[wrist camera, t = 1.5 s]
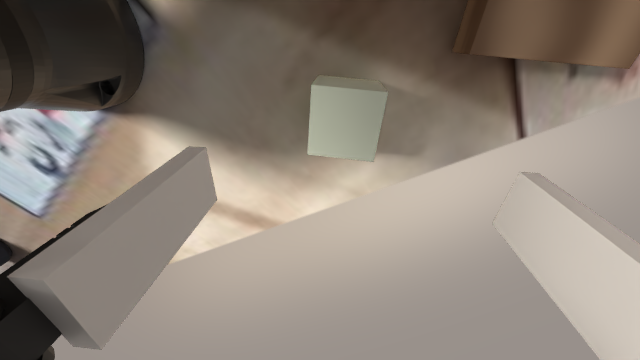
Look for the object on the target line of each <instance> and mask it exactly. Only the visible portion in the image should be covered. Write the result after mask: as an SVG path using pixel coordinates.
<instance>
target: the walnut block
mask: <svg viewBox="0 0 640 360" xmlns="http://www.w3.org/2000/svg"><path fill="white" fill-rule="evenodd" d="M452 52H456V53H463V54H472V55H483V56H494V57H505V58H516V59H527V60H538V61H549V62H559V63H570V64H581V65H592V66H603V67H614V68H625V69H629V68H630V66H631V65H632V63H633V62H634V60H635V59H636V57H637V56H638V54H639V53H640V0H468V3H467V6H466V9H465V12H464V15H463V18H462V22H461V25H460V28H459V31H458V34H457V37H456V41H455V44H454V47H453V50H452Z"/></svg>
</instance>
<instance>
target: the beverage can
mask: <svg viewBox="0 0 640 360" xmlns="http://www.w3.org/2000/svg"><path fill="white" fill-rule="evenodd" d="M11 254H12V253H11V250H10V249H9V247H8V246H7V245H5V244H4V243H3V242H1V241H0V266H2V265H3V264H5V263H6V262H8V261H9V260H10V256H11Z"/></svg>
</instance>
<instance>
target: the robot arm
mask: <svg viewBox="0 0 640 360" xmlns="http://www.w3.org/2000/svg"><path fill="white" fill-rule="evenodd" d="M143 68H144V53H143V45H142V40H141V36H140V32H139V29H138V26H137V23H136V20H135V18H134V15H133V13H132V11H131V9H130V7H129V5H128V3H127V1H126V0H0V112H1V111H6V110H11V109H16V108H27V109H46V110H64V111H96V110H101V109H104V108H108V107H111V106H115V105H118V104H120V103H123V102H124V101H126V100H127V99H129V98H130V97H131V96H132V95H133V94H134V92H135V91H136V90H137V88H138V86H139V84H140V81H141V78H142V74H143ZM216 200H217V197H216V192H215V187H214V183H213V178H212V173H211V168H210V164H209V159H208V154H207V149H206V148H204V147H191V146H189V147H187V148H186V149H185V150H183V151H182V152H180V153H179V154H178V155H176V156H175V157H173V158H172V159H171V160H169V161H168V162H166V163H165V164H164V165H162V166H161V167H159V168H158V169H157V170H155V171H154V172H152V173H151V174H150V175H148V176H147V177H145V178H144V179H143V180H141V181H140V182H138V183H137V184H136V185H134V186H133V187H131V188H130V189H129V190H127V191H126V192H124V193H123V194H122V195H120V196H119V197H117V198H116V199H115V200H113V201H112V202H110V203H109V204H107V205H105V206H103V207H101V208H99V209H97V210H94V211H92V212H90V213H88V214H86V215H85V216H84V217H82V218H81V219H79V220H78V221H76V222H75V223H73V224H72V225H71V227H70V228H66V229H65V230H63V231H62V232H61V233H59V234H58V235H56V238H52V239H50V240H49V241H48V242H46V243H45V244H43V245H42V246H40V247H39V248H38V249H36V250H35V251H33V252H32V253H30V254H29V255H27V256H26V257H25V258H23V259H22V260H20V261H19V262H17V263H16V264H14V265H13V266H12V267H10V268H9V269H7V270H6V271H4V272H3V273H2V274H0V360H54V358H55V354H54V348H53V347H52V346H51V345H52V344H53V343H54V342H55V341H56V339H57V338H58V337H59V336H60V335H61V334H62V335H63V336H64V337H65V338H66V339H67V340H68V342H69V343H70V344H71V345H72V346H74V347H82V348H91V349H99V350H102V349H103V347H104V346H105V345H106V343H107V342H108V341H109V339H110V338H111V337H112V336H113V334H114V333H115V332H116V330H117V329H118V328H119V326H120V325H121V324H122V322H123V321H124V320H125V319H126V317H127V316H128V315H129V314H130V312H131V311H132V310H133V308H134V307H135V306H136V304H137V303H138V302H139V301H140V299H141V298H142V297H143V295H144V294H145V293H146V291H147V290H148V289H149V287H150V286H151V285H152V284H153V282H154V281H155V280H156V278H157V277H158V276H159V275H160V273H161V272H162V271H163V269H164V268H165V267H166V265H167V264H168V263H169V262H170V260H171V259H172V258H173V256H174V255H175V254H176V252H177V251H178V250H179V249H180V247H181V246H182V245H183V243H184V242H185V241H186V239H187V238H188V237H189V236H190V234H191V233H192V232H193V230H194V229H195V228H196V226H197V225H198V224H199V223H200V221H201V220H202V219H203V217H204V216H205V215H206V213H207V212H208V211H209V210H210V208H211V207H212V206H213V204H214V203H215V202H216ZM492 224H493V226H494V227H495V228H496V229H497V231H498V232H499V233H500V234H501V236H502V237H503V238H504V239H505V241H506V242H507V243H508V244H509V246H510V247H511V248H512V249H513V251H514V252H515V253H516V254H517V256H518V257H519V258H520V260H521V261H522V262H523V263H524V265H525V266H526V267H527V268H528V270H529V271H530V272H531V273H532V275H533V276H534V277H535V278H536V279H537V281H538V282H539V283H540V285H541V286H542V287H543V288H544V289H545V291H546V292H547V293H548V294H549V296H550V297H551V298H552V300H553V301H554V302H555V303H556V305H557V306H558V307H559V308H560V310H561V311H562V312H563V313H564V315H565V316H566V317H567V319H568V320H569V321H570V322H571V323H572V325H573V326H574V327H575V328H576V330H577V331H578V332H579V334H580V335H581V336H582V337H583V339H584V340H585V341H586V342H587V344H588V345H589V346H590V347H591V349H592V350H593V351H594V352H595V354H596V355H597V356H598V357H599V359H600V360H640V244H639V243H638V242H637V241H635V240H634V239H632V238H631V237H630V236H628V235H627V234H625V233H624V232H622V231H621V230H619V229H618V228H617V227H615V226H614V225H612V224H611V223H609V222H608V221H607V220H605V219H604V218H602V217H601V216H599V215H598V214H596V213H595V212H594V211H592V210H591V209H589V208H588V207H587V206H585V205H584V204H582V203H581V202H579V201H578V200H577V199H575V198H574V197H572V196H571V195H569V194H568V193H566V192H565V191H564V190H562V189H561V188H559V187H558V186H557V185H555V184H554V183H552V182H551V181H549V180H548V179H546V178H545V177H544V176H542V175H541V174H539V173H527V172H519V174H518V176H517V178H516V180H515V182H514V183H513V185H512V187H511V189H510V191H509V193H508V195H507V197H506V198H505V200H504V202H503V204H502V206H501V208H500V210H499V211H498V213H497V215H496V217H495V219H494V221H493V222H492Z"/></svg>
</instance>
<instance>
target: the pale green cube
mask: <svg viewBox="0 0 640 360" xmlns="http://www.w3.org/2000/svg"><path fill="white" fill-rule="evenodd" d="M387 97H388V91H387V90H386V89H385V87H384V86H383V85H382V84H381V83H380V81H376V80H366V79H356V78H345V77H335V76H324V75H318V76H317V78H316V79H315V80H314V82H313V83H312V84H311V99H310V117H309V135H308V153H307V155H314V156H324V157H333V158H342V159H351V160H360V161H369V162H374V158H375V153H376V148H377V144H378V139H379V134H380V130H381V125H382V120H383V115H384V111H385V106H386V101H387Z"/></svg>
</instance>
